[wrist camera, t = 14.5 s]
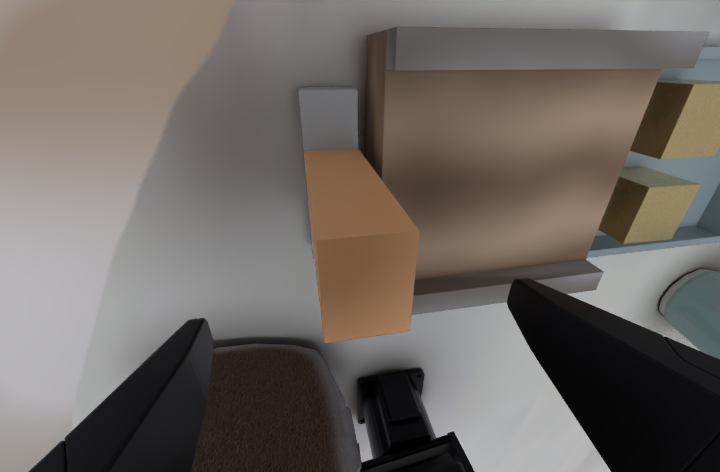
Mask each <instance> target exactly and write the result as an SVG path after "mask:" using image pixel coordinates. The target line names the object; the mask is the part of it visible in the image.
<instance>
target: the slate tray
mask: <svg viewBox="0 0 720 472" xmlns="http://www.w3.org/2000/svg"><path fill="white" fill-rule="evenodd" d="M659 79H688V80H706V81H720V47H703V49H702V51H701V53H700V55H699V58H698V60H697V62H696V64H695V67H694V68H674V69H662V71H661V74H660V76H659ZM639 166H643V167H646V168H650V169H653V170H656V171H659V172H663V173H666V174H669V175H672V176H676V177H679V178H682V179H685V180H689V181H692V182H695V183H698V184H702V185H701V187H700V188H699V190H698V192H697V194H696V196H695V197H694V199H693V201H692V203H691V205H690V206H689V208H688V210H687V212H686V214H685V216H684V217H683V219H682V221H681V223H680V225H679V226H678V228H677V230H676V232H675V234H674V235H673V237H672V239H669V240H658V241H647V242H636V243H626V244H623V243H621V242H619V241H617V240H615V239H614V238H612V237H610V236H608V235H607V234H605V233H603V232H601V231H599V230H598V231H597V233H596V235H595V238H594V240H593V243H592V245H591V248H590V250H589V253H588V255H587V258H589V257H597V256H606V255H614V254H623V253H631V252H640V251H648V250H657V249H666V248H674V247H683V246H691V245H700V244H708V243H717V242H720V147H719V149H718V151H717V153H716V155H715V156H703V157H688V158H673V159H657V158H654V157H650V156H646V155H643V154H639V153H635V152H632V151H629V153H628V156H627V158H626V161H625V163H624V166H623V167H639Z"/></svg>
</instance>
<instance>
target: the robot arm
mask: <svg viewBox="0 0 720 472" xmlns="http://www.w3.org/2000/svg"><path fill="white" fill-rule="evenodd" d="M507 305H508V308H509V310H510V311H511V313H512V315H513V317H514V319H515V321H516V323H517V325H518V327H519V328H520V330H521V332H522V334H523V336H524V338H525V340H526V342H527V344H528V345H529V347H530V349H531V351H532V352H533V354H534V355H535V357H536V358H537V360H538V361H539V363H540V364H541V366H542V368H543V369H544V371H545V372H546V374H547V375H548V377H549V378H550V380H551V381H552V383H553V384H554V386H555V387H556V389H557V390H558V392H559V393H560V395H561V396H562V398H563V399H564V401H565V402H566V404H567V405H568V407H569V408H570V410H571V411H572V413H573V414H574V416H575V417H576V419H577V421H578V422H579V424H580V425H581V427H582V428H583V430H584V431H585V433H586V434H587V436H588V437H589V439H590V440H591V442H592V443H593V445H594V446H595V448H596V449H597V451H598V452H599V454H600V455H601V457H602V458H603V460H604V461H605V463H606V464H607V466H608V467H609V469H610V470H611V472H720V359H718V358H715V357H713V356H710V355H708V354H705V353H703V352H701V351H698V350H696V349H693V348H691V347H689V346H686V345H684V344H681V343H679V342H677V341H674V340H672V339H670V338H667V337H663V336H662V335H660V334H658V333H656V332H653V331H651V330H649V329H646V328H644V327H642V326H639V325H637V324H635V323H632V322H630V321H628V320H625V319H623V318H621V317H618V316H616V315H614V314H611V313H609V312H607V311H604V310H602V309H600V308H597V307H595V306H593V305H590V304H588V303H586V302H583V301H581V300H579V299H576V298H574V297H572V296H569V295H567V294H565V293H562V292H560V291H558V290H555V289H553V288H551V287H548V286H546V285H544V284H541V283H539V282H537V281H534V280H532V279H530V278H518V279H514V280H513V281H512V284H511V287H510V291H509V294H508V298H507ZM213 349H214V343H213V338H212V335H211V332H210V328H209V325H208V322H207V320H206V319H204V318H199V319H191V320H188V321H187V322H186V323H185V324H184V325H183V326H182V327H181V328H179V329H178V330H177V331H176V332H175V333H174V334H173V335H172V336H171V337H170V338H169V339H168V340H167V341H166V342H165V343H164V344H163V345H162V346H161V347H160V348H158V349H157V350H156V351H155V352H154V353H153V354H152V355H151V356H150V357H149V358H148V359H147V360H146V361H145V362H144V363H143V364H142V365H141V366H140V367H139V368H137V369H136V370H135V371H134V372H133V373H132V374H131V375H130V376H129V377H128V378H127V379H126V380H125V381H124V382H123V383H122V384H121V385H120V386H119V387H118V388H116V389H115V390H114V391H113V392H112V393H111V394H110V395H109V396H108V397H107V398H106V399H105V400H104V401H103V402H102V403H101V404H100V405H99V406H98V407H97V408H95V409H94V410H93V411H92V412H91V413H90V414H89V415H88V416H87V417H86V418H85V419H84V420H83V421H82V422H81V423H80V424H79V425H78V426H77V427H76V428H74V429H73V430H72V431H71V432H70V433H69V434H68V435H67V436H66V437H65V441H61V442H60V443H59V444H58V445H57V446H56V447H54V449H52V450H51V451H50V452H49V453H48V454H47V455H46V456H45V457H44V458H43V459H42V460H41V461H40V462H38V463H37V464H36V465H35V466H34V467H33V468H32V469H31V470H30V471H29V472H191V469H192V465H193V461H194V457H195V453H196V448H197V444H198V440H199V436H200V432H201V427H202V423H203V419H204V415H205V410H206V405H207V399H208V392H209V383H210V375H211V366H212V358H213ZM423 380H424V372H423V370H422V369H415V370H409V371H403V372H397V373H391V374H385V375H379V376H373V377H367V378H361V379H359V380H358V381H357V419H358V423H359V424H364V423H366V427H367V432H368V437H369V442H370V447H371V451H372V456H373V459H371V460H368V461H365V462H361V465H362V466H361V469H360V472H474V470H473V468H472V466H471V464H470V462H469V460H468V458H467V456H466V454H465V452H464V450H463V449H462V447H461V445H460V443H459V441H458V439H457V437H456V435H455V433H454V431H453V432H450V433H448V435H445V436H442V437H439V438H436V436H435V434H434V431H433V428H432V426H431V423H430V421H429V418H428V415H427V413H426V410H425V408H424V405H423V402H422V400H421V394H422V387H423Z"/></svg>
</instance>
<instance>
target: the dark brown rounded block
mask: <svg viewBox="0 0 720 472" xmlns="http://www.w3.org/2000/svg"><path fill="white" fill-rule="evenodd" d="M361 466H362V465H361V457H360V450H359V443H358V444H357V440H356V435H355V430H354V425H353V420H352V415H351V410H350V408H348V407H347V406H346V405H345V400H344V396H343V395H342V393H341V391H340V389H339V387H338V385H337V384H336V382H335V380H334V378H333V376H332V374H331V373H330V371H329V369H328V367H327V365H326V363H325V362H324V360H323V358H322V356H321V355H320V354H319V353H318V352H317V351H316V350H315V349H310V348H305V347H300V346H295V345H280V344H247V345H238V346H229V347H219V348H214V349H213V358H212V366H211V375H210V383H209V392H208V399H207V405H206V410H205V415H204V419H203V423H202V427H201V432H200V436H199V440H198V444H197V448H196V453H195V457H194V461H193V465H192V469H191V472H360V469H361Z"/></svg>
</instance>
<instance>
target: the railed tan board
mask: <svg viewBox="0 0 720 472" xmlns="http://www.w3.org/2000/svg"><path fill="white" fill-rule="evenodd" d="M709 33H710V32H691V31H627V30H564V29H500V28H436V27H395V28H391V29H388V30H384V31H381V32H378V33H374V34H371V35H368V46H367V153H366V160H367V161H368V162H369V164H370V165H371V166H372V168H373V169H374V170H375V172H376V173H377V174H378V176H379V177H380V178H381V180H382V181H383V182H384V184H385V185H386V186H387V188H388V189H389V190H390V192H391V193H392V194H393V196H394V197H395V198H396V200H397V201H398V203H399V204H400V205H401V207H402V208H403V209H404V211H405V212H406V213H407V215H408V216H409V217H410V219H411V220H412V221H413V223H414V224H415V225H416V227H417V228H418V229H419V240H418V251H417V261H416V272H415V282H414V293H413V303H412V314H411V315H415V314H422V313H429V312H437V311H444V310H451V309H459V308H466V307H473V306H481V305H488V304H495V303H503V302H507V298H508V294H509V291H510V287H511V284H512V281H513V280H514V279H518V278H530V279H532V280H534V281H537V282H539V283H541V284H544V285H546V286H548V287H551V288H553V289H555V290H558V291H560V292H562V293H565V294H569V293H576V292H583V291H591V290H596V288H597V286H598V283H599V281H600V279H601V277H602V274H603V271H602V270H600V269H599V268H597V267H596V266H594V265H593V264H591V263H590V262H588V261H587V260H586V258H587V255H588V253H589V250H590V248H591V245H592V243H593V240H594V238H595V235H596V233H597V231H598V228H599V226H600V223H601V221H602V218H603V216H604V213H605V211H606V208H607V206H608V203H609V201H610V198H611V196H612V193H613V191H614V188H615V186H616V183H617V181H618V178H619V176H620V173H621V171H622V168H623V166H624V163H625V161H626V158H627V156H628V153H629V151H630V148H631V146H632V143H633V141H634V138H635V136H636V133H637V131H638V128H639V126H640V123H641V121H642V119H643V116H644V114H645V111H646V109H647V106H648V104H649V101H650V99H651V96H652V94H653V91H654V89H655V86H656V84H657V81H658V79H659V76H660V74H661V71H662V69H674V68H694V67H695V64H696V62H697V60H698V58H699V55H700V53H701V51H702V49H703V46H704V44H705V42H706V40H707V37H708V35H709Z"/></svg>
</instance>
